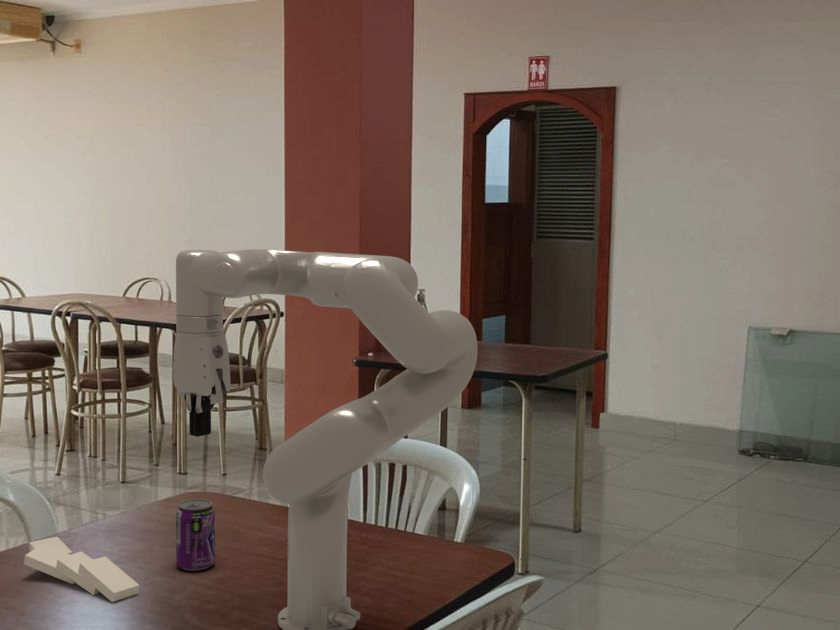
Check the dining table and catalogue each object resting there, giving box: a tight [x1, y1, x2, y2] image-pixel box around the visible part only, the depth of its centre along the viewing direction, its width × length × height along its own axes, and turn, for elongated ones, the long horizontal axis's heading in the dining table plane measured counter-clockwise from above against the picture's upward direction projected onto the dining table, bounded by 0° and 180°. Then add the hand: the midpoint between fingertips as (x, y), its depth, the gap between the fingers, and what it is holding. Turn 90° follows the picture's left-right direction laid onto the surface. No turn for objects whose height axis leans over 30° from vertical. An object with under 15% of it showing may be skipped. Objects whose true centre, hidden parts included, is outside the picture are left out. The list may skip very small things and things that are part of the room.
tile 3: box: [23, 543, 76, 585], centre depth 184 cm, size 2×5×10 cm
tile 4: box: [28, 536, 73, 555], centre depth 192 cm, size 2×5×10 cm
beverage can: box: [175, 498, 216, 572], centre depth 190 cm, size 7×7×12 cm
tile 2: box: [56, 550, 101, 596], centre depth 181 cm, size 2×5×10 cm
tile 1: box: [78, 555, 140, 603], centre depth 178 cm, size 2×5×10 cm
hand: (200, 434), depth 171 cm, fingers closed
